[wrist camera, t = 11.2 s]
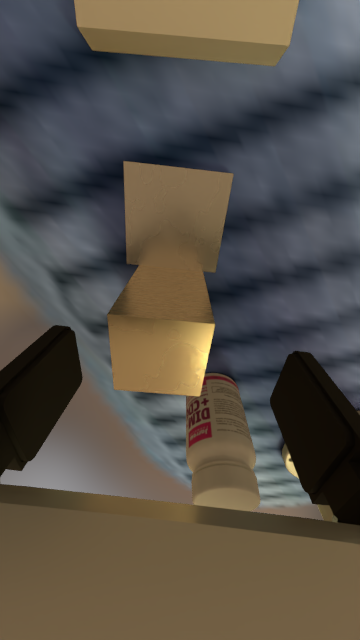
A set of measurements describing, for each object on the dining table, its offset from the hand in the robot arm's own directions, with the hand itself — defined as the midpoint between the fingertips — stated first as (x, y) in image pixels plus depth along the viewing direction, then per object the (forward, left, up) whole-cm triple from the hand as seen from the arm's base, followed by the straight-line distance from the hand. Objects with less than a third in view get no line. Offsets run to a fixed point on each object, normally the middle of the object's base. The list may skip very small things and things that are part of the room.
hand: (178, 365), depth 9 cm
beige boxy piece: (+3, -2, -7) cm, 7 cm away
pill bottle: (-9, +4, -7) cm, 12 cm away
